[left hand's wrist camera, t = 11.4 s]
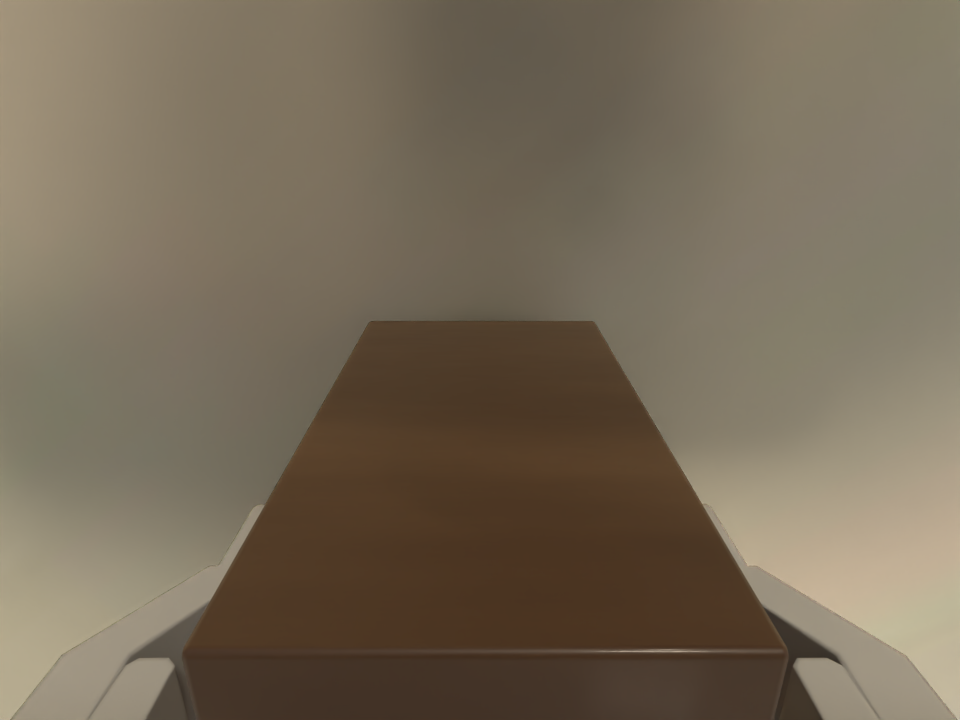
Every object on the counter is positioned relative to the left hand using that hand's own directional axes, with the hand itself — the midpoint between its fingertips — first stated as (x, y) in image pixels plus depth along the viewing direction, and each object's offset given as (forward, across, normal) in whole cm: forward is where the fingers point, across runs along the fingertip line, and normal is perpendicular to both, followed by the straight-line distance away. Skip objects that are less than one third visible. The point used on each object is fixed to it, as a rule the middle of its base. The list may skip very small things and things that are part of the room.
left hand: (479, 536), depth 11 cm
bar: (+3, 0, +10) cm, 10 cm away
